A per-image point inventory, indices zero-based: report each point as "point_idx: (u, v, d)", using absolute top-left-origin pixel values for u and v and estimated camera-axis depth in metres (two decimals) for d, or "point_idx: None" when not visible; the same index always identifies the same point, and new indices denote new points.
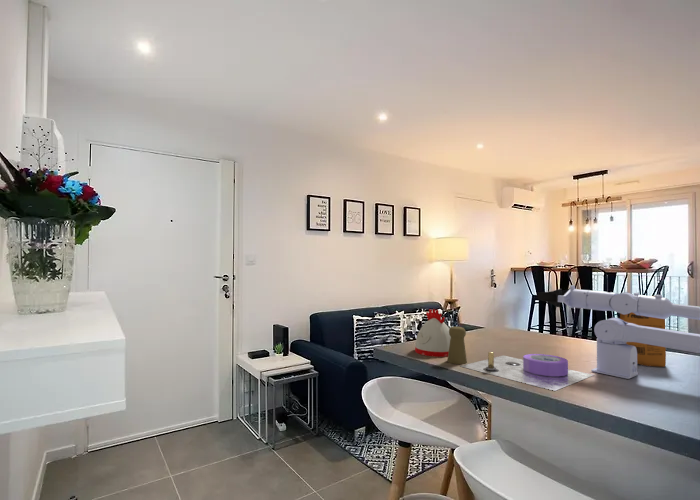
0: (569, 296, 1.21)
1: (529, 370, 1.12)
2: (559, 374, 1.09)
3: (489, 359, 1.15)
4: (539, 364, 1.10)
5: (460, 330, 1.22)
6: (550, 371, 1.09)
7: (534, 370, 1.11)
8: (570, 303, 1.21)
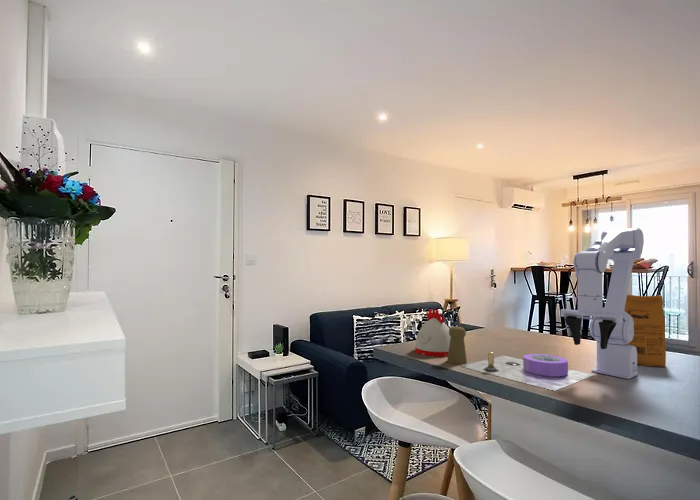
0: (601, 314, 1.03)
1: (529, 370, 1.12)
2: (559, 374, 1.09)
3: (489, 359, 1.15)
4: (539, 364, 1.10)
5: (460, 330, 1.22)
6: (549, 371, 1.09)
7: (534, 370, 1.11)
8: (602, 312, 1.04)
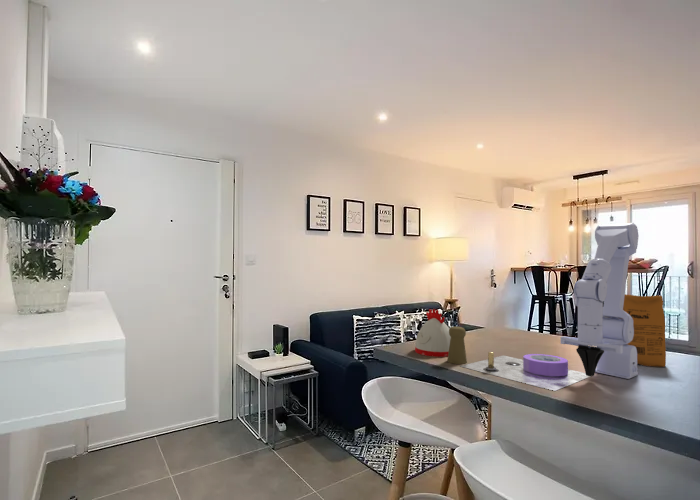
0: (601, 343, 1.03)
1: (529, 370, 1.12)
2: (559, 374, 1.09)
3: (489, 359, 1.15)
4: (539, 364, 1.10)
5: (460, 330, 1.22)
6: (549, 371, 1.09)
7: (534, 370, 1.11)
8: (602, 341, 1.04)
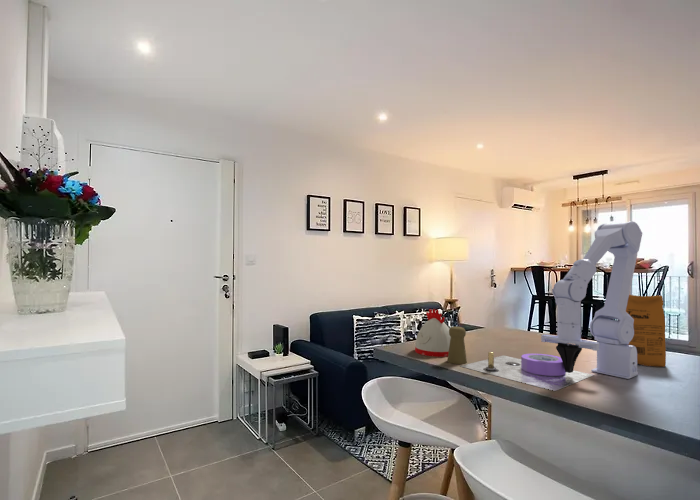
0: (579, 341, 1.07)
1: (527, 370, 1.13)
2: (557, 373, 1.09)
3: (489, 359, 1.15)
4: (537, 364, 1.11)
5: (460, 330, 1.22)
6: (547, 371, 1.09)
7: (532, 370, 1.11)
8: (580, 339, 1.08)
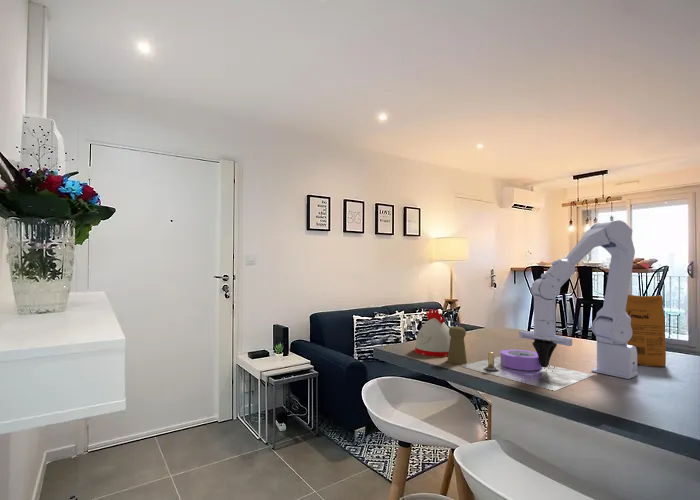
0: (553, 337, 1.12)
1: (506, 365, 1.18)
2: (534, 368, 1.14)
3: (489, 359, 1.15)
4: (515, 359, 1.16)
5: (460, 330, 1.22)
6: (525, 366, 1.14)
7: (510, 365, 1.16)
8: (555, 335, 1.14)
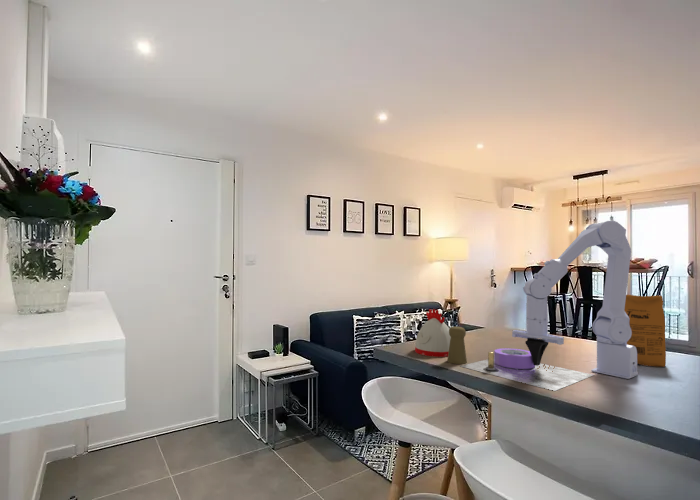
0: (545, 335, 1.14)
1: (499, 363, 1.19)
2: (526, 367, 1.16)
3: (489, 359, 1.15)
4: (508, 357, 1.17)
5: (460, 330, 1.22)
6: (518, 364, 1.16)
7: (504, 363, 1.18)
8: (547, 334, 1.16)
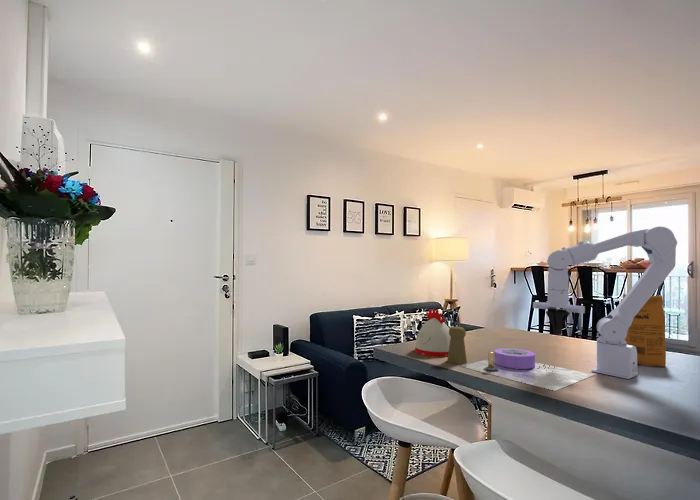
0: (567, 305, 1.18)
1: (499, 363, 1.20)
2: (526, 367, 1.16)
3: (489, 359, 1.15)
4: (508, 357, 1.17)
5: (460, 330, 1.22)
6: (518, 364, 1.16)
7: (504, 363, 1.18)
8: None
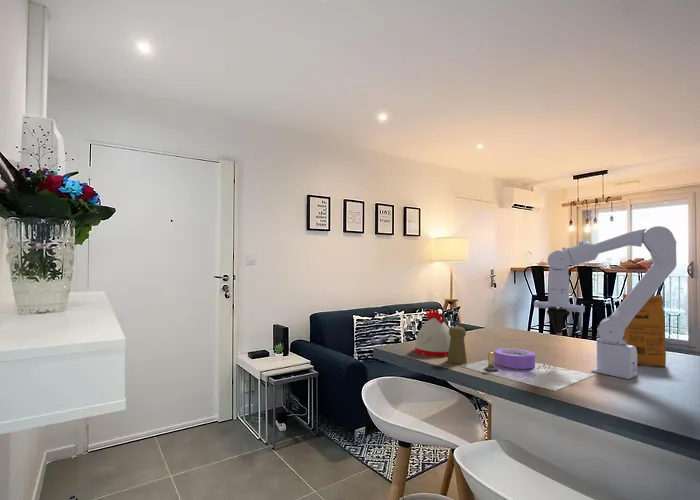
0: (567, 305, 1.20)
1: (499, 363, 1.20)
2: (526, 367, 1.16)
3: (489, 359, 1.15)
4: (508, 357, 1.17)
5: (460, 330, 1.22)
6: (518, 364, 1.16)
7: (504, 363, 1.18)
8: (568, 304, 1.22)
